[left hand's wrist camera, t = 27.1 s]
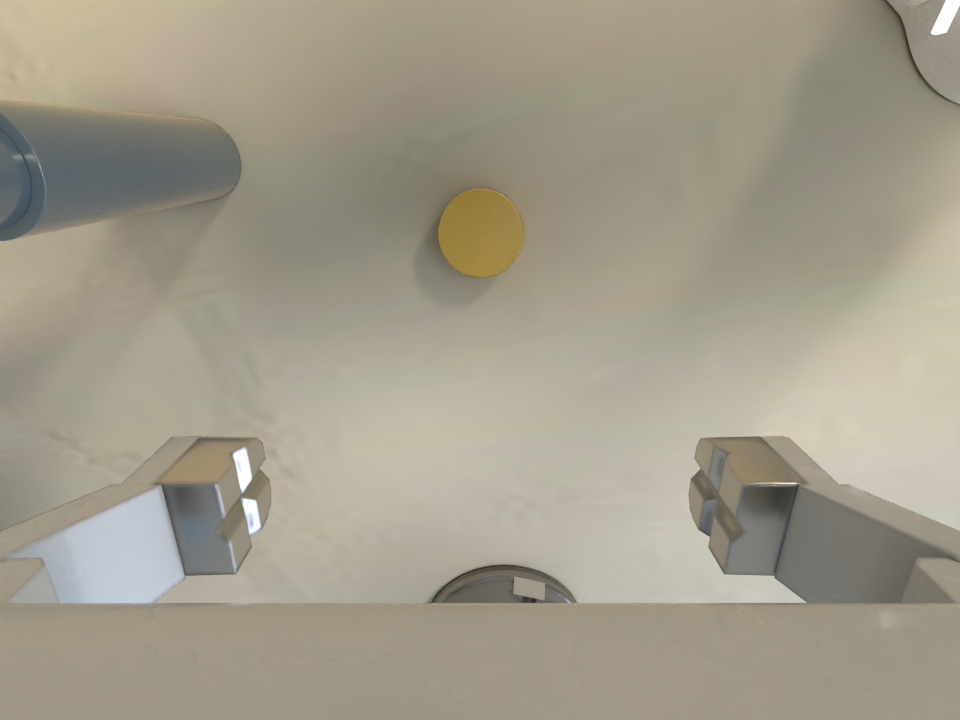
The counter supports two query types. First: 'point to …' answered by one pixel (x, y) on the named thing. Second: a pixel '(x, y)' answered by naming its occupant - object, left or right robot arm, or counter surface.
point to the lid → (480, 232)
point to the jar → (104, 165)
